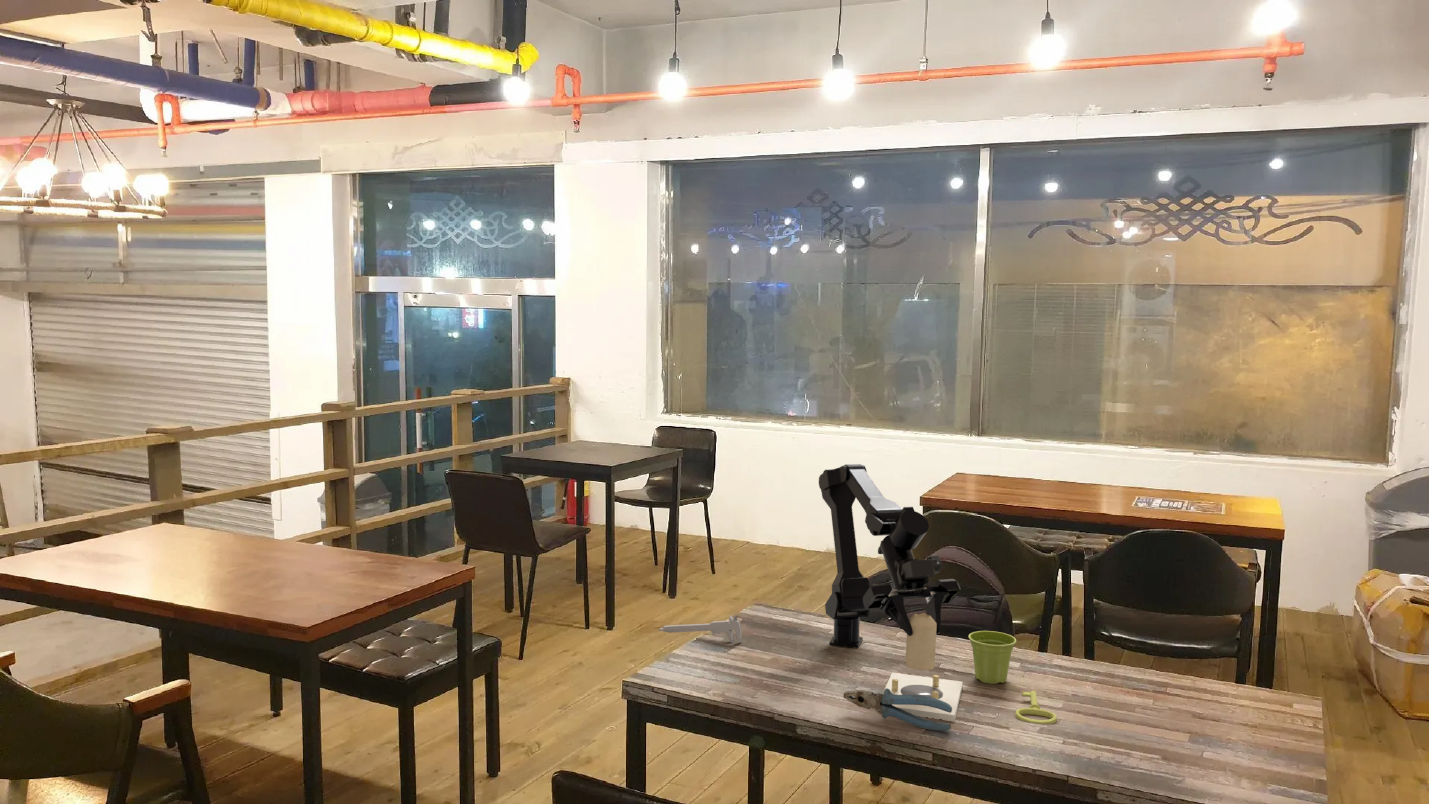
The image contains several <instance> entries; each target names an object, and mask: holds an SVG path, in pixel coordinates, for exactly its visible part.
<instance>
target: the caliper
mask: <svg viewBox="0 0 1429 804" xmlns="http://www.w3.org/2000/svg"><path fill="white" fill-rule="evenodd" d="M728 619H729V620H719V621H717V620H716V621H714V620H713V621H711V622H710V623H690V624H675V625H672V624H671V625H663V626H662V627H660V628H659V629H658V630H657V631H658V632H664V633H688V632H689V633H690V632H711V634H712V635H716V634H717V635H720V634H722V633H724V632H725V634H726V636H727V639H728V641H729V643H731V644H733V643H734V642H735V639H734V633H735V636H736V637H735V638H736V641H737V642H736V643H737V644H740V643H741V642H742V639H743V638H742V634H743V633H742V630H743V629H742V625H741V621H740V620H738V619H737V615H735V616H732V615H730V616H729V617H728ZM733 632H734V633H733Z"/></svg>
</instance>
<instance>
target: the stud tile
mask: <svg viewBox="0 0 1429 804" xmlns="http://www.w3.org/2000/svg"><path fill="white" fill-rule="evenodd" d="M890 674H891V675H890V677H889V678H888V681H887V683H886V686H885V688H884V690H885V689H886V688H888V689H889V690H890V691H891V693H892V694H894V695H921V696H927V697H931V698H935V699H938V700H941V701H943V702H946V703H948V704H949V705H950V706H951V707H952V711H951V713H950V712H946V711H943V710H941V709H938V708H934V707H929V706H923V705H894V704H891V705H893V706H895V707H897V708H899V709H902V710H904V711H906V712H908V713H911V714H913V715H915V716H920V718H925V717H928V718H927V719H932V718H934V719H933V720H939V719H942V720H941V721H948V722H953V723H955V721H956V717H957V713H958V708H959V705H960V700H961V697H962V691H963V684H964V683H963V681H960V680H952V679H944V678H940V675H937V674H934V675H932V677H930V676H929V677H928V676H920V675H912V674H905V673H899V672H897V673H896V672H891V673H890Z"/></svg>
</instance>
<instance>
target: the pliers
mask: <svg viewBox="0 0 1429 804" xmlns="http://www.w3.org/2000/svg"><path fill="white" fill-rule="evenodd" d="M842 696H843V697H842V698H844V699H845V700H847V701H849V702H851V703H852V704H853V705H856V706H857V707H859V708H863V709H867V710H870V709H873V710H874V711H878V712H880V713H881V718H883V719H884V720H887V718H888V717H893V718H895V719H898V720H900V721H902V722H905V723H907V724H910V725H912V726H915V727H918V728H920V729H924V728H925V729H924V730H929V729H930V730H929V731H935V732H936V731H939V732H946V731H947V732H948V731H949V730H951V729H952V725H951V723H948V722H940V721H936V720H935V721H934V720H929V719H927V718H926V719H925V718H924V717H918V716H915V715H913V714H911V713H908V712H906V711H904V710H902V709H899V708H897V707H895V706H893V705H891V704H894V705H923V706H929V707H934V708H938V709H941V710H943V711H946V712H950V713H951V711H952V707H951V706H950V705H949V704H948V703H946V702H943V701H941V700H938V699H935V698H931V697H927V696H921V695H894V694H892V693H891V691H890V690H889V689H888V688H886V689H885V688H884V690H883V693H881V692H880V693H874V692H873V691H869V690H866V689H857V690H847V691H845V692H843V695H842Z"/></svg>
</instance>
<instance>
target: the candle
mask: <svg viewBox="0 0 1429 804" xmlns="http://www.w3.org/2000/svg"><path fill="white" fill-rule="evenodd" d="M908 619H909V621H910V624H911V627H912V632H913V634H912V636H909V635H908V634H907V633H906V641H905V642H906V646H905V666H906V667H908V668H910V669H912V670H915V671H931V670H933V669H934V668H935V666H936V665H935V664H936V648H937V647H936V644H937V633H936V630H937V623H936V622H935V621H934V619H933V618H932V617H931V616H930V615H927V613H925V612H922V613H920V614H918V613H914V614H912V615H911V617H910V618H908Z"/></svg>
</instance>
